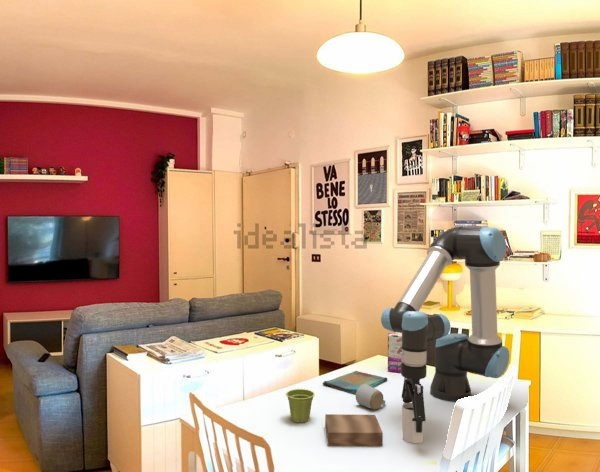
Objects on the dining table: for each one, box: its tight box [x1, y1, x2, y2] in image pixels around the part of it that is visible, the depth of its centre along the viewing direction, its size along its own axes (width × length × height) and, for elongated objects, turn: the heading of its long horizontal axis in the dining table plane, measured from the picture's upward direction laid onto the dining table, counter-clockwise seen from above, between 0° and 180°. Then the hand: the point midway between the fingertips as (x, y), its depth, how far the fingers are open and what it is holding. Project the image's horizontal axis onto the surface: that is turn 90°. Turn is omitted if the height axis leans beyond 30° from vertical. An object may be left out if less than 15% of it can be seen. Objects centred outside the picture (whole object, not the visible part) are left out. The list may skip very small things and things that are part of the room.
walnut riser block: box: [324, 413, 384, 447], centre depth 159 cm, size 16×14×4 cm
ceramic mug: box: [355, 384, 386, 411], centre depth 184 cm, size 10×8×7 cm
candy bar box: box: [387, 332, 403, 374], centre depth 227 cm, size 11×5×16 cm, turn 80°
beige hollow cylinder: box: [401, 402, 421, 444], centre depth 157 cm, size 7×7×10 cm
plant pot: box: [285, 388, 315, 423], centre depth 171 cm, size 9×9×9 cm
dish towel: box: [322, 370, 388, 396], centre depth 210 cm, size 17×23×2 cm
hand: (412, 432), depth 157 cm, fingers open, 13 cm apart
